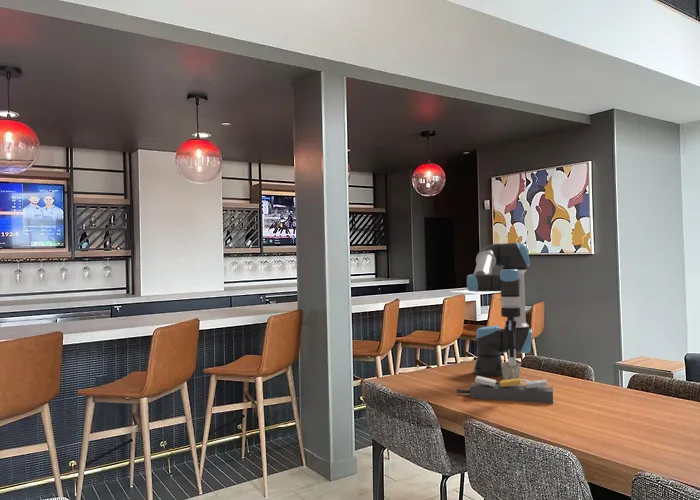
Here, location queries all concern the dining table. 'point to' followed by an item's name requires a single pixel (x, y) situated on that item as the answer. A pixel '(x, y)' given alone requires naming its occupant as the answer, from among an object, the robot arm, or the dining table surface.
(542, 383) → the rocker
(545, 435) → the dining table surface
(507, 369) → the mug
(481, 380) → the block
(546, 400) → the power strip
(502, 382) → the block
